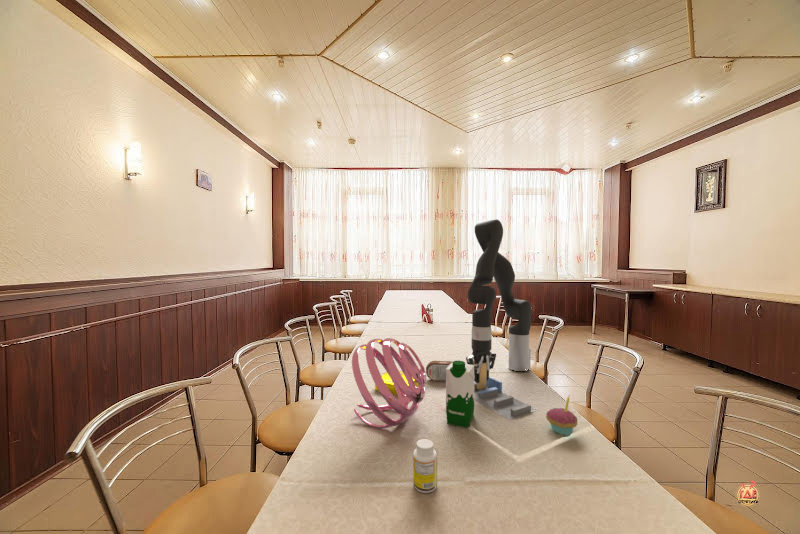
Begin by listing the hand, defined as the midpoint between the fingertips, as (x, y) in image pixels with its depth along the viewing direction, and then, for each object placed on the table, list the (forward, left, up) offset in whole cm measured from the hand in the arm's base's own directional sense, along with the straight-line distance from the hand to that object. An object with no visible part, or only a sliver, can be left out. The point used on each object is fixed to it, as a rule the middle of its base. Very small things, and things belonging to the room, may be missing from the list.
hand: (481, 380), depth 128 cm
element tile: (+24, -23, -6) cm, 34 cm away
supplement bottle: (+47, +32, -6) cm, 57 cm away
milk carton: (+20, +12, -6) cm, 24 cm away
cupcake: (-2, +33, -6) cm, 33 cm away
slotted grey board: (0, +8, -6) cm, 9 cm away
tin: (+4, -19, -6) cm, 21 cm away
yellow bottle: (0, 0, -3) cm, 3 cm away
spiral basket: (+40, 0, -6) cm, 40 cm away
